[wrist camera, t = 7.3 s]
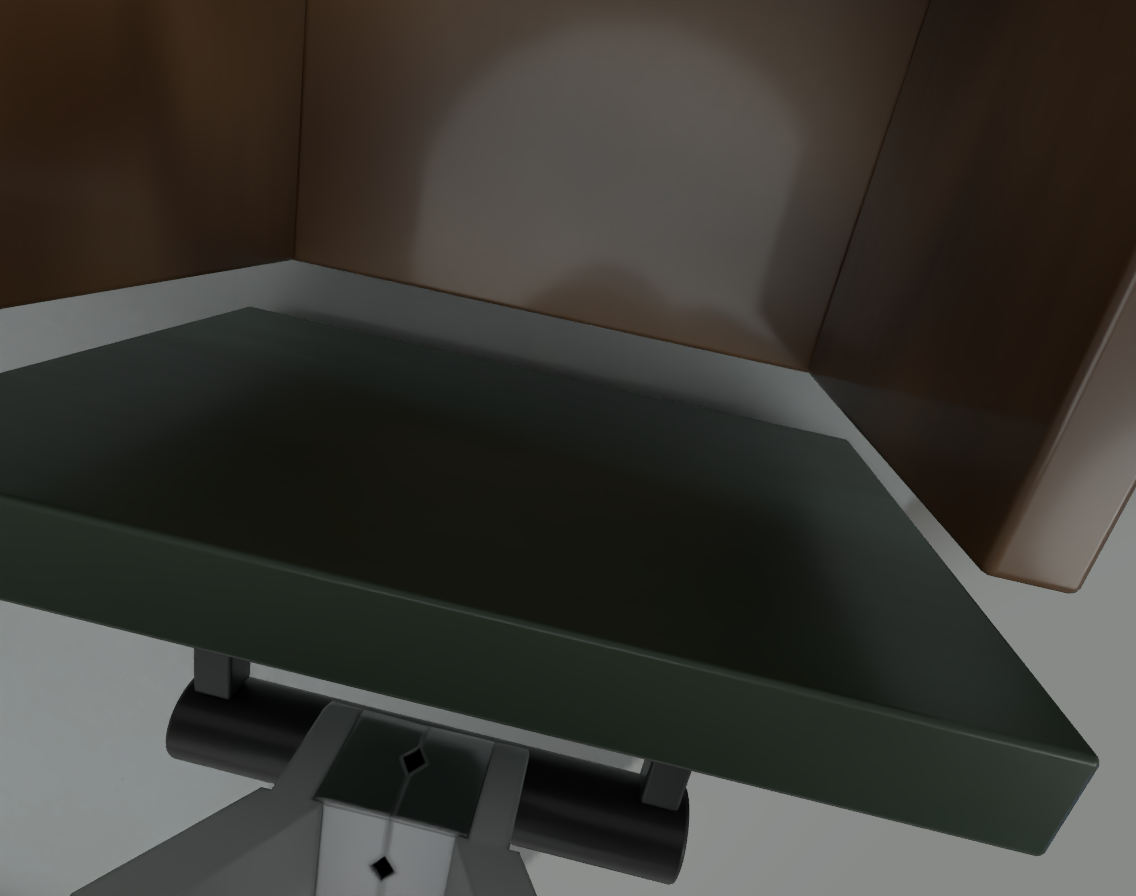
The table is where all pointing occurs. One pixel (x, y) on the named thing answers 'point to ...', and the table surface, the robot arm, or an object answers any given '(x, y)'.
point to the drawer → (582, 409)
